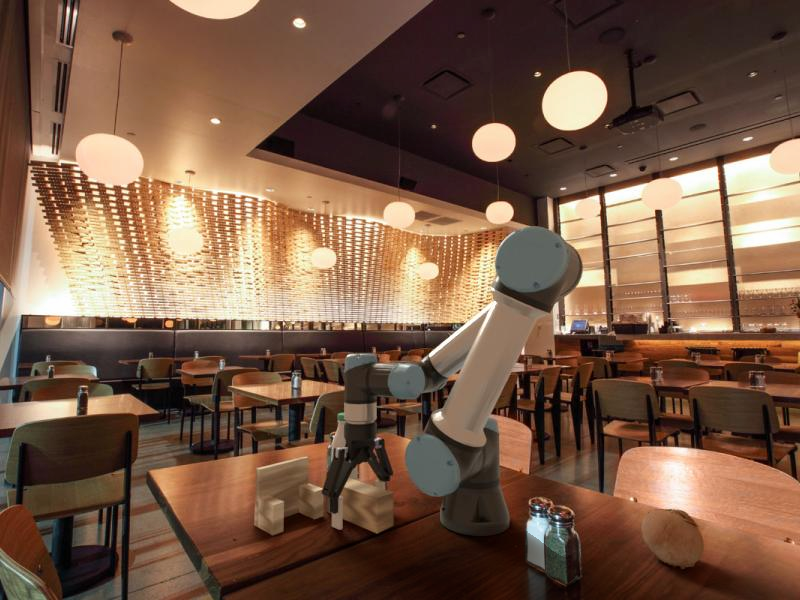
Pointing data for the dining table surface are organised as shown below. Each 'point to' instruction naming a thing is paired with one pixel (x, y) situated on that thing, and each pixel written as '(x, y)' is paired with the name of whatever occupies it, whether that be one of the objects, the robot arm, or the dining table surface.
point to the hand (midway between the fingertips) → (359, 518)
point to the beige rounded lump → (672, 537)
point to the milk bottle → (343, 444)
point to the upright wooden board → (285, 494)
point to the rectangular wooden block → (366, 505)
